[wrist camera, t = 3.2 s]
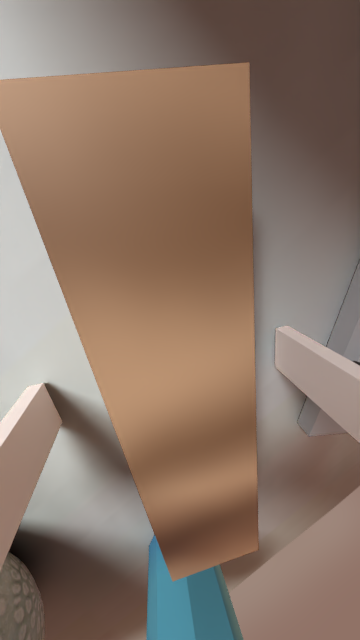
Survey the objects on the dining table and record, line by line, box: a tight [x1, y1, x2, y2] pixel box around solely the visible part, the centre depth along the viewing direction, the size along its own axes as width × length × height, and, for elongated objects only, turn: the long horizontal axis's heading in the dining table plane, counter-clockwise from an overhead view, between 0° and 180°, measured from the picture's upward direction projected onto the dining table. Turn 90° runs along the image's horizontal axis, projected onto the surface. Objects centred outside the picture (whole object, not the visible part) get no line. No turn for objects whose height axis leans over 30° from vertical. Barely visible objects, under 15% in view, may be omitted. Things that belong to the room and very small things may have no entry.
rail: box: [0, 62, 259, 581], centre depth 10 cm, size 20×5×5 cm, turn 9°
